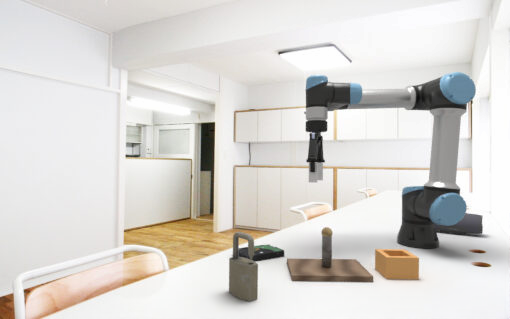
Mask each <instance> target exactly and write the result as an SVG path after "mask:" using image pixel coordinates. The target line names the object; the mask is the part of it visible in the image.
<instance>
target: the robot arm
mask: <svg viewBox="0 0 510 319" xmlns="http://www.w3.org/2000/svg"><path fill="white" fill-rule="evenodd" d="M476 90H477V89H476V84H475V82H474V80H473V79H471V78H470V76H469V75H467V74H466V73H464V72H461V71H460V72H459V71H454V72H450V73H446V74H444V75H442V76H440V77H437V78H435V79H432V80H429V81H427V82H424V83H421V84H417V85H416V84H415V85H408V86H406V87H405V88H380V89H379V88H377V89H376V88H375V89H373V88H371V89H370V88H369V89H368V88H367V89H363V87H362V85H361V84H360V83H355V82H331V81H329V80H328V76H327V75H324V74H313V75H310V76H308V77H307V78H306V81H305V111H304V112H303V113H304V115H305V120H306V122H305V132H306V133H309V139H308V140H309V142H308V151H307V158H306V159H305V160H306V163H308V183H318V181H323V180H324V173H323V172H324V163H326V160H325V158H324V147H323V146H324V145H323V144H324V143H323V141H324V138H323V135H322V133H326V132H328V121H327V120H328V117H329V116H328V115H329V114H328V112H334V111H337V110H338V111H340V110H367V109H369V110H370V109H375V110H376V109H405V110H406V111H429V113H430V114H431V115H432V116H433V123H432V138H431V147H430V148H431V150H430V163H429V172H428V173H429V174H428V181H427V182H425V183H424V184H423V185H414V186H413V185H412V186H405V187H403V188H402V192H401V225H400V228H399V231H398V233H397V237H396V242H397V244H400V245H402V246H406V247H411V248H419V249H421V248H422V249H436V248H438V247H440V240H439V237H438V234H437V230H435V228H434V223H436V224H438V225H445V226H450V225H454V224H457V223H458V222H459V221H461V220H462V219H463V217H464V216H465V213H467V202H466V200H465V199H464V197H463V196H462V195H461V187H460V186H458V184H457V171H458V158H459V157H458V156H459V148H460V146H459V145H460V134H461V133H460V132H461V122H462V120H461V119H462V117H463V115H464V114H465V113H467V109H468V108H467V106H468V103H470V102H471V101H472V100H473V99H474V98H475V97H476V96H475V95H476V92H477V91H476Z"/></svg>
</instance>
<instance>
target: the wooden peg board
mask: <svg viewBox="0 0 510 319" xmlns="http://www.w3.org/2000/svg"><path fill="white" fill-rule="evenodd" d="M320 232H321V258H292V257H291V258H286V265H287V268H288V271H289V274H290V275H289V276H290V277H291V278H290V279H291V281H292V282H338V281H339V283H340V281H341V282H343V281H344V282H345V283H346V281H347V283H349V282H351V283H355V282H358V283H374V275H373V274H372V273H370V272H369V271H368V270H367V268H366V267H365V266H364V265H363V264H361V262H359V261H358V260H357V259H356V258H355V259H353V258H351V259H350V258H347V259H346V258H332V254H333V253H332V252H333V251H332V248H333V245H332V244H333V242H332V241H333V239H332V238H333V230H332V228H330V227H327V226H326V227H323V228H322V230H321V231H320Z"/></svg>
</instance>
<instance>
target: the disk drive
mask: <svg viewBox="0 0 510 319" xmlns="http://www.w3.org/2000/svg"><path fill="white" fill-rule="evenodd" d="M238 257H244V258H247V259H250V258H249V255H248V246H247V247H245V246H244V247H239V254H238ZM284 257H285V250H284V249H283V248H282V249H281V248H279V247H277V246H273V245H271V244H261V245H254V255H253V258H252V260H253V261H255V262H256V263H257V262H261V261H266V260H272V259H279V258H284Z"/></svg>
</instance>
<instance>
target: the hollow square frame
mask: <svg viewBox="0 0 510 319" xmlns="http://www.w3.org/2000/svg"><path fill="white" fill-rule="evenodd" d="M374 269H375V270H376V271H377V272H378V273H379V274H380V275H381V276H383V277H384V278H385V279H386V280H420V274H419V273H420V258H419V257H418V256H417V255H415V254H413V253H411V252H410V251H408V250H407V249H404V248H403V249H402V248H401V249H400V248H399V249H398V248H396V249H395V248H388V249H387V248H385V249H384V248H379V249H378V248H375V249H374Z"/></svg>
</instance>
